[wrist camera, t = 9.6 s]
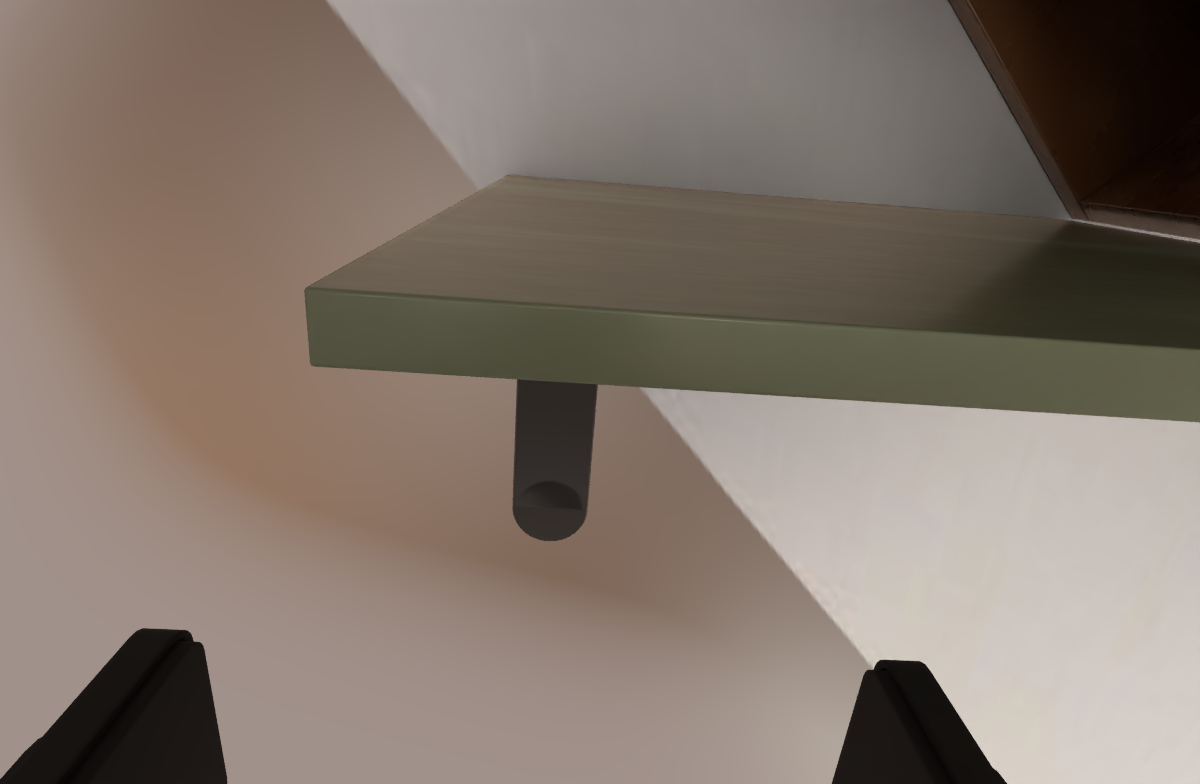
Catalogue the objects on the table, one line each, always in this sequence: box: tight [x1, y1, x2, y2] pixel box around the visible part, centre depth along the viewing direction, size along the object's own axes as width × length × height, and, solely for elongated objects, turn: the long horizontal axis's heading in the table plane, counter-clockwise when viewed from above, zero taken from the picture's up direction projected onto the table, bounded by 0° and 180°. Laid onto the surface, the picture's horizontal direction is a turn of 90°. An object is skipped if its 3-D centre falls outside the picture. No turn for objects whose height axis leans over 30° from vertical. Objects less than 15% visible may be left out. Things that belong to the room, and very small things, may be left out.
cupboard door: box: [304, 175, 1200, 541], centre depth 21 cm, size 7×26×24 cm, turn 86°
